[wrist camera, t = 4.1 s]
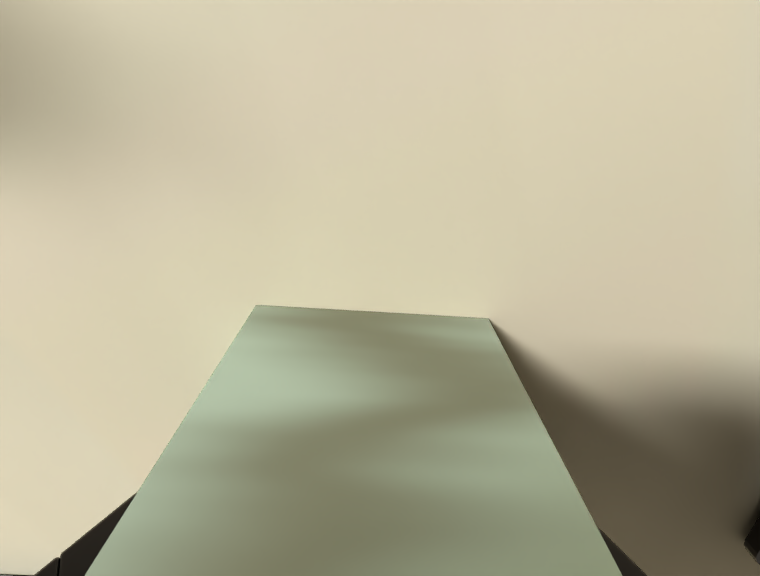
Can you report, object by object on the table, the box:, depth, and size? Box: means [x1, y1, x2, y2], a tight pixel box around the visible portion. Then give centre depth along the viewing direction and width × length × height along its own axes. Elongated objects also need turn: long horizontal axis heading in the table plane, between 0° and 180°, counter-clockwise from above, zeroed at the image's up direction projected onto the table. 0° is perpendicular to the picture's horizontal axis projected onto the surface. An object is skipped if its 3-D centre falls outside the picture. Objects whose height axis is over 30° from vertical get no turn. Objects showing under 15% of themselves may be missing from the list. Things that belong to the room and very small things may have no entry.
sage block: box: [85, 305, 622, 576], centre depth 7 cm, size 5×5×6 cm
